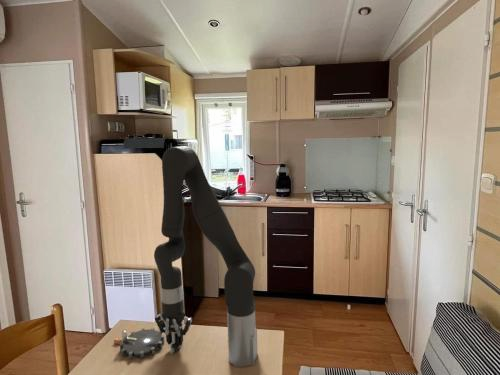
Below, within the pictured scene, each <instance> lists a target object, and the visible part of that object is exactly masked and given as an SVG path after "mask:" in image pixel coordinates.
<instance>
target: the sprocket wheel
mask: <svg viewBox="0 0 500 375" xmlns="http://www.w3.org/2000/svg"><path fill="white" fill-rule="evenodd" d="M162 334H163V333H161V332H160V329H158V330H156V329H155V328H154V327H151V328H150V329H145V328H141V330H137V331H132V332H130V335H128V332H127V330H126V329H123V330H122V331H121V336H122V337H121V338H122V343H120V344H119V350H120V351H121V356H122V357H125V356H128V359H129V360H133V359H134V358H140V359H145V356H149V355H152V356H154V355H155V354H156V352H157V350H158V349H162V348H163V347H164V346H163V343H165V335H164V334H163V335H162Z"/></svg>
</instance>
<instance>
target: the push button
mask: <svg viewBox="0 0 500 375" xmlns="http://www.w3.org/2000/svg"><path fill="white" fill-rule="evenodd" d="M181 326H182V325H180V326H179V327H181ZM168 329H169V330H168V331H170V332H171V333H172V338H171V344H170V353H169V354H170V355H173V354H174V353H176V352H177V351H178V350H179V349H181V346H182V345H183V343H182V344H181V345H180V346H178V345H177V336H178V335H177V331H176V330H175V327H174V326H173V325H171V326H170V327H169V328H168ZM180 330H181V329H180Z"/></svg>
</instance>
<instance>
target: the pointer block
mask: <svg viewBox="0 0 500 375" xmlns="http://www.w3.org/2000/svg"><path fill="white" fill-rule="evenodd" d="M114 343H115V344H116V345H119V346H120V343H123V340H122V337H115V338H114V339H113V344H114Z"/></svg>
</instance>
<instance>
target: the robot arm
mask: <svg viewBox="0 0 500 375" xmlns="http://www.w3.org/2000/svg"><path fill="white" fill-rule="evenodd" d="M161 168H162V169H161V172H162V184H163V185H162V187H163V210H162V211H163V212H162V220H161V235H163V236H164V237H166V238H168V241H166V242H163V243H161V244H158V245H157V246H156V248H155V249H154V254H153V257H154V258H153V259H154V261H155V265H156V267H157V270H158V273H159V276H160V303H161V313H158V314H157V315H156V316H155V317H154V320H155V322H156V325H157V327H158V330H160V332H161V333H162V334H165V342H166V343H167V345H169V346H171V344H172V343H171V338H172V333H171V332H170V331H168V330H169V329H168V328H169V327H170V326H171V325H173V326H174V327H175V330H176V331H177V335H178V336H177V345H178V346H180V345H181V344H182V345H183V343H184V336H186V334H187V333H188V332H189V329H190V327H191V324H192V322H193V317H192V316H190V317H188V316H186V313H185V303H184V301H185V300H184V299H185V298H184V297H185V294H184V288H183V279H182V278H183V277H182V270H181V268H180V267H178V266H173V263H174V262H175V261H177V260H179V259H181V258H182V257H183V256H184V254H185V250H186V244H185V243H186V242H185V236H184V231H183V230H184V225H185V223H184V222H185V214H186V212H185V203H184V199H183V184H184V183H185V184H186V187H187V188H188V192H189V194H190V201H191V209H192V213H193V216H194V218H195V221H196V223H197V224H198V227H199V228H200V229H199V230H201V232H202V234H203V235H204V237H205V238H206V239H207V240H208V241H209V242H210V243H211V244H212V245H213V246H214V247H215V248H216V249H217V250H218V251H219V253H220V255H221V257H222V259H223V261H224V264H225V266H226V269H227V270H226V273H225V275H224V278H223V279H224V281H223V287H224V300H225V306H226V314H227V315H226V316H227V319H226V320H227V321H226V322H227V343H228V344H227V345H228V346H227V349H228V352H227V353H228V361H229V362H230V364H232V365H233V366H236V367H239V368H244V367H248V366H255V364H256V360H257V357H258V329H257V327H256V302H255V300H254V281H255V279H256V269H255V266H254V265H253V263H252V261H251V260H250V258H249V257H248V255H247V253H246V252H245V251H244V249H243V247H242V246H241V244H240V242H239V240H238V238H237V236H236V234H235V232H234V229H233V228H232V227H233V226H231V225H232V224H230V221H229V218H228V217H227V215H226V213H225V211H224V209H223V207H222V205H221V204H220V202H219V200H218V198H217V196H216V194H215V192H214V190H213V188H212V186H211V185H210V183H209V181H208V179H207V176H206V174H205V171H204V169H203V166H202V164H201V162H200V159H199V156H198V155H197V153H196V151H195V149H193V148H192V147H190V146H187V145H180V146H172V147H169V148H167V149H166V150H165V151H164V153H163V155H162V159H161ZM183 322H184V325H183ZM180 325H182V326H181V327H179V326H180ZM183 326H184V327H183ZM180 329H181V330H180ZM182 345H181V346H182Z"/></svg>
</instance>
